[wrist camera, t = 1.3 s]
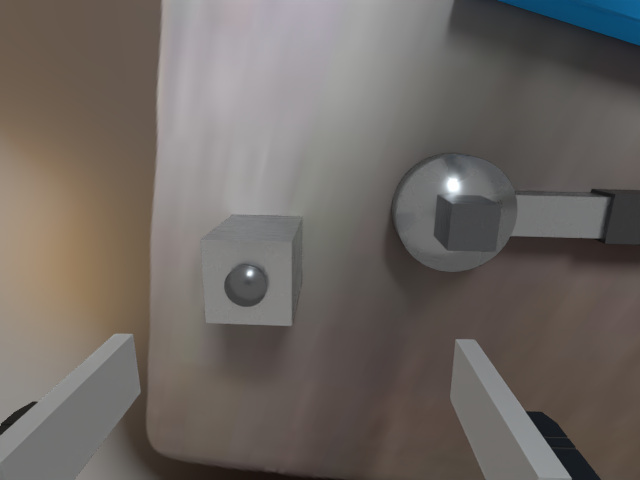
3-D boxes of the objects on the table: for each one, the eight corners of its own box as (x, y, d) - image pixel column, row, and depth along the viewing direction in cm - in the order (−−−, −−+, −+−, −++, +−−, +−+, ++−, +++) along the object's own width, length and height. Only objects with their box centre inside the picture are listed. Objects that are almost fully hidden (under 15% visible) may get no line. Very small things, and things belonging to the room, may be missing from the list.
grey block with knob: (232, 214, 34) (197, 242, 25) (302, 216, 34) (290, 244, 25) (235, 280, 35) (202, 327, 27) (301, 282, 35) (290, 330, 27)
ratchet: (395, 152, 32) (411, 157, 25) (702, 158, 31) (804, 165, 24) (388, 258, 34) (400, 289, 27) (673, 267, 33) (759, 301, 27)
